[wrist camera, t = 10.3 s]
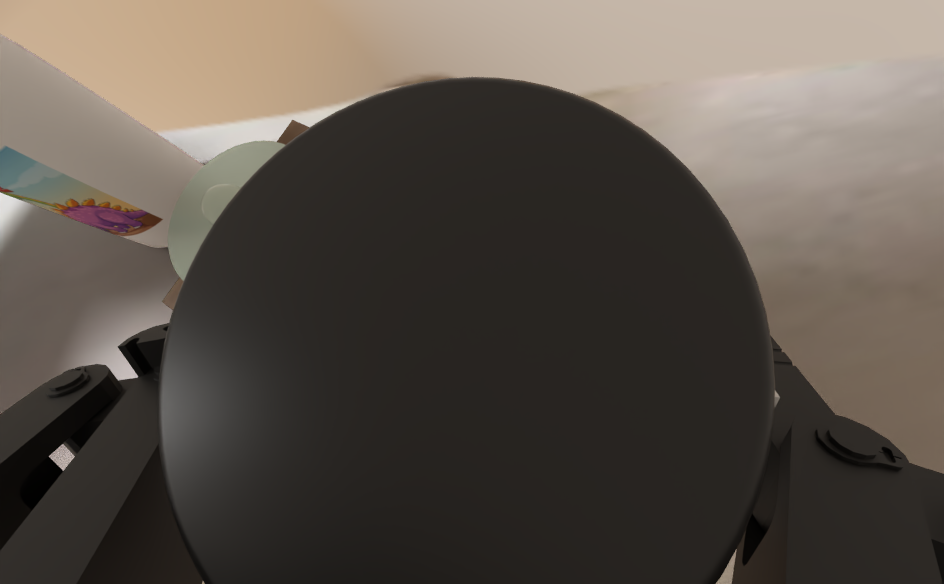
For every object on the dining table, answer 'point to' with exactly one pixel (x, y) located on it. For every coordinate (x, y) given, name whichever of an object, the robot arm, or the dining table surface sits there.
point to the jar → (467, 355)
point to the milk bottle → (84, 153)
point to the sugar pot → (211, 198)
